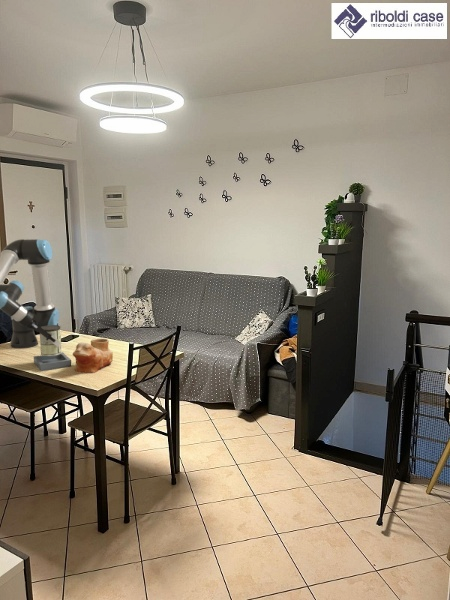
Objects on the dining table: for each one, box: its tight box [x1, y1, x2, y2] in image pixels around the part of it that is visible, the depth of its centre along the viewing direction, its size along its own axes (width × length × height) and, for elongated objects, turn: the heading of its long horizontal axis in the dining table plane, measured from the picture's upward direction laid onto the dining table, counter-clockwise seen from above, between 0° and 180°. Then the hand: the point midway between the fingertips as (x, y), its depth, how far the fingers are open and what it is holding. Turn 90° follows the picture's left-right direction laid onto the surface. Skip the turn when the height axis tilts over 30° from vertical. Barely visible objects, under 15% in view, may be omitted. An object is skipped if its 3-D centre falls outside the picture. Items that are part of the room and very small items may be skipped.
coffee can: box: [39, 324, 63, 356], centre depth 231 cm, size 10×10×14 cm
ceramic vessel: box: [72, 338, 114, 374], centre depth 229 cm, size 14×26×15 cm, turn 160°
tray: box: [33, 351, 72, 372], centre depth 234 cm, size 17×15×4 cm
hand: (56, 342), depth 233 cm, fingers closed on coffee can, 10 cm apart
